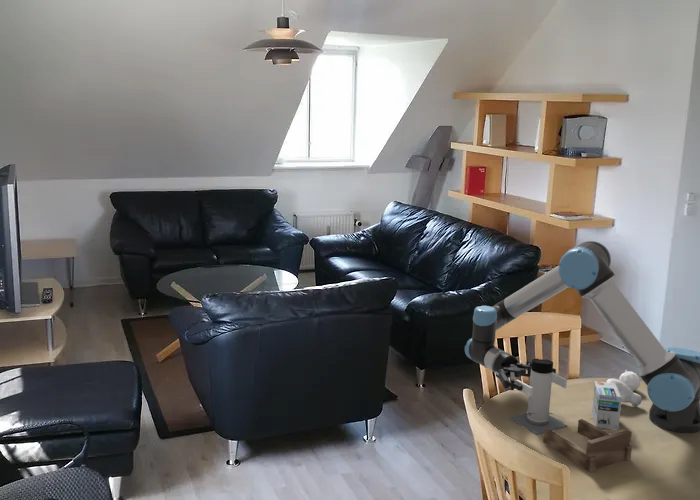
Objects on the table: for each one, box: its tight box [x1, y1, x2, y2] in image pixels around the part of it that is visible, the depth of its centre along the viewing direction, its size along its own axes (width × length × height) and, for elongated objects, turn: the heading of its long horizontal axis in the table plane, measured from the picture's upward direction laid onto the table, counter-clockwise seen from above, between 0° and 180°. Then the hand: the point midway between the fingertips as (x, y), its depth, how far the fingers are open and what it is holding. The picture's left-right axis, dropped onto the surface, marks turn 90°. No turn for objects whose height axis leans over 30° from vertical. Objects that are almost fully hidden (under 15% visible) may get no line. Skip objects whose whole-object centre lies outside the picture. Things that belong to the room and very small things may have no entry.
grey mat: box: [509, 412, 568, 436], centre depth 213 cm, size 12×12×1 cm
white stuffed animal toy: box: [605, 378, 643, 409], centre depth 225 cm, size 6×8×12 cm
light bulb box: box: [591, 380, 622, 431], centre depth 213 cm, size 11×7×11 cm, turn 169°
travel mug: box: [526, 358, 554, 426], centre depth 210 cm, size 6×7×20 cm
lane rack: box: [542, 418, 633, 473], centre depth 195 cm, size 18×15×8 cm
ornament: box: [618, 369, 641, 392], centre depth 236 cm, size 6×7×7 cm
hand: (548, 387), depth 207 cm, fingers open, 13 cm apart
